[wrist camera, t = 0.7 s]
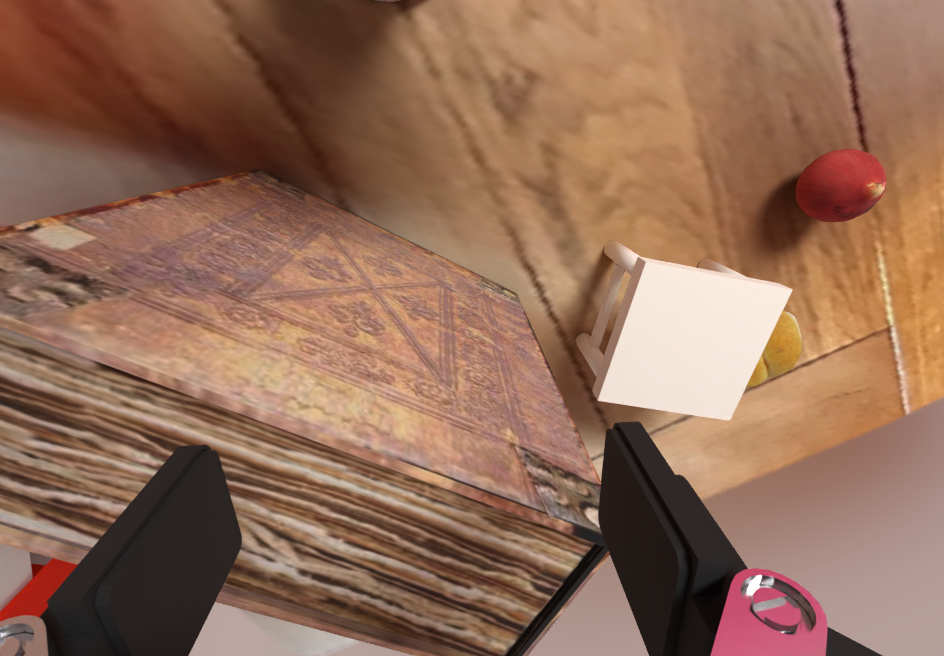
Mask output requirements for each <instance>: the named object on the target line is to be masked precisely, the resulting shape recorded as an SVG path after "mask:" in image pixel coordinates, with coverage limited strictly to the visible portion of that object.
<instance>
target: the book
mask: <svg viewBox="0 0 944 656" xmlns="http://www.w3.org/2000/svg"><path fill="white" fill-rule="evenodd" d="M187 445H208V446H209V447H210V448H211V450H215V451H217V453H218V455H219V458H220V461H221V465H222V468H223V472H224V475H225V478H226V482H227V485H228V489H229V492H230V496H231V499H232V503H233V506H234V510H235V513H236V517H237V520H238V524H239V527H240V530H241V534H242V545H241V549H240V552H239V554H238V556H237V558H236V560H235V562H234V564H233V566H232V568H231V570H230V572H229V574H228V576H227V578H226V580H225V582H224V584H223V586H222V588H221V590H220V592H219V594H218V596H217V599H216V601H215V602H218V603H222V604H226V605H229V606H233V607H237V608H240V609H244V610H248V611H251V612H255V613H259V614H263V615H266V616H270V617H274V618H277V619H281V620H285V621H289V622H292V623H296V624H300V625H303V626H307V627H311V628H314V629H318V630H322V631H326V632H329V633H333V634H337V635H340V636H344V637H348V638H352V639H355V640H359V641H363V642H367V643H370V644H374V645H378V646H381V647H385V648H389V649H392V650H396V651H400V652H403V653H408V654H411V655H415V656H528V655H529V653H530V652H531V651H532V650H533V649H534V647H535V646H536V645H537V644H538V642H539V641H540V640H541V639H542V637H543V636H544V635H545V634H546V633H547V631H548V630H549V629H550V628H551V626H552V625H553V624H554V623H555V622H556V620H557V619H558V618H559V617H560V615H561V614H562V613H563V612H564V610H565V609H566V608H567V607H568V606H569V604H570V603H571V602H572V600H573V599H574V598H575V597H576V596H577V595H578V593H579V592H580V591H581V589H582V588H583V587H584V586H585V585H586V583H587V582H588V581H589V580H590V578H591V577H592V576H593V575H594V573H595V572H596V571H597V570H598V568H599V567H600V566H601V565H602V564H603V562H604V561H605V560H606V559H607V558H608V556H609V555H610V553H609V550H608V548H607V545H606V542H605V540H604V537H603V535H602V532H601V529H600V526H599V520H598V509H599V499H600V489H601V481H600V479H599V477H598V475H597V472H596V470H595V468H594V466H593V463H592V461H591V459H590V457H589V454H588V452H587V450H586V448H585V445H584V443H583V441H582V439H581V436H580V434H579V432H578V430H577V427H576V425H575V423H574V421H573V419H572V416H571V414H570V412H569V410H568V407H567V405H566V403H565V401H564V398H563V396H562V394H561V392H560V389H559V387H558V385H557V383H556V380H555V378H554V376H553V374H552V371H551V369H550V367H549V365H548V362H547V360H546V358H545V356H544V354H543V351H542V349H541V347H540V345H539V342H538V340H537V338H536V336H535V333H534V331H533V329H532V327H531V324H530V322H529V320H528V318H527V315H526V313H525V311H524V309H523V306H522V304H521V302H520V300H519V298H518V295H517V294H516V293H515V292H513V291H511V290H509V289H507V288H505V287H503V286H501V285H498V284H496V283H494V282H492V281H490V280H488V279H486V278H484V277H482V276H480V275H478V274H476V273H474V272H472V271H470V270H468V269H466V268H463V267H461V266H459V265H457V264H455V263H453V262H451V261H449V260H447V259H445V258H443V257H441V256H439V255H437V254H435V253H433V252H430V251H428V250H426V249H424V248H422V247H420V246H418V245H416V244H414V243H412V242H410V241H408V240H406V239H404V238H402V237H400V236H398V235H395V234H393V233H391V232H389V231H387V230H385V229H383V228H381V227H379V226H377V225H375V224H373V223H371V222H369V221H367V220H365V219H363V218H360V217H358V216H356V215H354V214H352V213H350V212H348V211H346V210H344V209H342V208H340V207H338V206H336V205H334V204H332V203H330V202H328V201H325V200H323V199H321V198H319V197H317V196H315V195H313V194H311V193H309V192H307V191H305V190H303V189H301V188H299V187H297V186H295V185H293V184H290V183H288V182H286V181H284V180H282V179H280V178H278V177H276V176H274V175H272V174H270V173H268V172H266V171H264V170H260V169H256V170H251V171H247V172H243V173H238V174H234V175H230V176H225V177H221V178H217V179H212V180H208V181H204V182H199V183H195V184H191V185H186V186H182V187H178V188H173V189H169V190H165V191H160V192H156V193H151V194H147V195H143V196H138V197H134V198H130V199H125V200H121V201H117V202H112V203H108V204H104V205H99V206H95V207H91V208H86V209H82V210H78V211H73V212H69V213H65V214H60V215H56V216H52V217H47V218H43V219H39V220H34V221H30V222H25V223H21V224H17V225H12V226H8V227H4V228H0V544H3V545H7V546H11V547H14V548H18V549H22V550H25V551H29V552H33V553H36V554H40V555H44V556H48V557H51V558H55V559H59V560H62V561H66V562H70V563H74V564H77V565H78V564H79V563H80V562H81V561H82V559H83V558H84V557H85V556H86V555H87V553H88V552H89V551H90V550H91V549H92V548H93V546H94V545H95V544H96V543H97V542H98V541H99V539H100V538H101V537H102V536H103V535H104V533H105V532H106V531H107V530H108V529H109V528H110V526H111V525H112V524H113V523H114V522H115V521H116V519H117V518H118V517H119V516H120V515H121V514H122V512H123V511H124V510H125V509H126V508H127V506H128V505H129V504H130V503H131V502H132V501H133V499H134V498H135V497H136V496H137V495H138V494H139V492H140V491H141V490H142V489H143V488H144V486H145V485H146V484H147V483H148V482H149V481H150V479H151V478H152V477H153V476H154V475H155V474H156V472H157V471H158V470H159V469H160V468H161V466H162V465H163V464H164V463H165V462H166V461H167V459H168V458H169V457H170V456H171V455H172V454H173V452H174V451H175V450H176V449H177V448H178V447H180V446H187Z"/></svg>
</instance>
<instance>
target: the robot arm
mask: <svg viewBox="0 0 944 656" xmlns="http://www.w3.org/2000/svg"><path fill="white" fill-rule="evenodd" d="M374 1H384V2H395V1H402V0H374ZM598 520H599V526H600V529H601V532H602V535H603V537H604V540H605V542H606V545H607V548H608V550H609V553H610V555H611V558H612V561H613V563H614V566H615V568H616V571H617V573H618V576H619V578H620V581H621V584H622V586H623V589H624V592H625V594H626V597H627V599H628V602H629V604H630V607H631V610H632V612H633V615H634V617H635V620H636V622H637V625H638V628H639V630H640V633H641V635H642V638H643V641H644V643H645V646H646V648H647V651H648V654H649V656H882V655H880V654H878V653H876V652H874V651H872V650H871V649H869V648H867V647H865V646H863V645H861V644H859V643H857V642H855V641H853V640H852V639H850V638H848V637H846V636H844V635H842V634H840V633H838V632H836V631H834V630H833V629H831V628H829V627H828V626H827V619H826V615H825V613H824V611H823V609H822V607H821V605H820V604H819V602H818V601H817V600H816V599H815V598H814V597H813V596H812V594H811V593H810V592H809V591H807V590H806V589H805V588H803V587H802V586H801V585H800V584H798V583H797V582H796V581H794V580H792V579H790V578H788V577H786V576H784V575H783V574H780V573H777V572H774V571H771V570H767V569H759V568H752V569H748V568H747V566H746V565H745V564H744V562H743V561H742V559H741V558H740V556H739V555H738V554H737V552H736V551H735V549H734V548H733V546H732V545H731V543H730V542H729V540H728V539H727V537H726V536H725V535H724V533H723V532H722V530H721V529H720V527H719V526H718V524H717V523H716V522H715V520H714V519H713V517H712V516H711V514H710V513H709V511H708V510H707V508H706V507H705V506H704V504H703V503H702V501H701V500H700V498H699V497H698V495H697V494H696V492H695V491H694V490H693V488H692V487H691V485H690V484H689V482H688V481H687V480H686V479H685V478H684V477H683V476H681V475H675V474H674V472H673V471H672V469H671V468H670V466H669V465H668V463H667V462H666V460H665V459H664V457H663V456H662V454H661V453H660V451H659V450H658V448H657V447H656V445H655V444H654V442H653V441H652V439H651V438H650V436H649V435H648V433H647V432H646V430H645V429H644V427H643V426H642V424H641V423H640V422H621V423H615V424H614V426H613V429H608V430H607V431H606V438H605V448H604V458H603V468H602V479H601V489H600V499H599V509H598ZM241 545H242V534H241V530H240V527H239V524H238V520H237V517H236V513H235V510H234V506H233V503H232V499H231V496H230V492H229V489H228V485H227V482H226V478H225V475H224V472H223V468H222V465H221V461H220V458H219V455H218V453H217V451H215V450H211V448H210V447H209V446H208V445H187V446H180V447H178V448H177V449H176V450H175V451H174V452H173V454H172V455H171V456H170V457H169V458H168V459H167V461H166V462H165V463H164V464H163V465H162V466H161V468H160V469H159V470H158V471H157V472H156V474H155V475H154V476H153V477H152V478H151V479H150V481H149V482H148V483H147V484H146V485H145V486H144V488H143V489H142V490H141V491H140V492H139V494H138V495H137V496H136V497H135V498H134V499H133V501H132V502H131V503H130V504H129V505H128V506H127V508H126V509H125V510H124V511H123V512H122V514H121V515H120V516H119V517H118V518H117V519H116V521H115V522H114V523H113V524H112V525H111V526H110V528H109V529H108V530H107V531H106V532H105V533H104V535H103V536H102V537H101V538H100V539H99V541H98V542H97V543H96V544H95V545H94V546H93V548H92V549H91V550H90V551H89V552H88V553H87V555H86V556H85V557H84V558H83V559H82V561H81V562H80V563H79V564H78V565H77V566H76V568H75V569H74V570H73V571H72V572H71V573H70V575H69V576H68V577H67V578H66V579H65V581H64V582H63V583H62V584H61V585H60V586H59V588H58V589H57V590H56V591H55V592H54V593H53V595H52V596H51V597H50V598H49V599H48V601H47V603H48V605H49V606H48V607H47V608H46V610H45V611H44V612H43V613H42V614H41V616H40V617H39V618H38V617H36V616H30V615H22V616H17V617H13V618H9V619H6V620H3V621H1V622H0V656H188V655H189V653H190V651H191V649H192V647H193V645H194V643H195V641H196V639H197V637H198V635H199V633H200V631H201V629H202V627H203V624H204V622H205V621H206V619H207V617H208V615H209V613H210V611H211V609H212V606H213V605H214V602H215V601H216V599H217V596H218V594H219V592H220V590H221V588H222V586H223V584H224V582H225V580H226V578H227V576H228V574H229V572H230V570H231V568H232V566H233V564H234V562H235V560H236V558H237V556H238V554H239V552H240V549H241Z"/></svg>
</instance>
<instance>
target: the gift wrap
mask: <svg viewBox="0 0 944 656" xmlns="http://www.w3.org/2000/svg"><path fill="white" fill-rule="evenodd" d="M76 566H77V564H74V563H70V562H66V561H62V560H59V559H55V558H51V557H48V556H44V555H40V554H36V553H33V552H29V551H25V550H22V549H18V548H14V547H11V546H7V545H3V544H0V622H1V621H3V620H6V619H9V618H13V617H17V616H22V615H30V616H36V617H38V618H39V617H40V616H41V614H42V613H43V612H44V611H45V610H46V608H47V607H48V606H49V605H48V603H47V601H48V599H49V598H50V597H51V596H52V595H53V593H54V592H55V591H56V590H57V589H58V588H59V586H60V585H61V584H62V583H63V582H64V581H65V579H66V578H67V577H68V576H69V575H70V573H71V572H72V571H73V570H74V569H75V568H76Z"/></svg>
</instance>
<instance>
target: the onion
mask: <svg viewBox="0 0 944 656" xmlns="http://www.w3.org/2000/svg"><path fill="white" fill-rule="evenodd" d="M885 188H886V175H885V171H884V168H883V167H882V165H881V164H880V163H879V161H878V160H877V159H876V157H874V156H873V155H871V154H868V153H865V152H863V151H859V150H856V149H845V150H835V151H831V152H829V153H827V154H825V155H823V156H821V157H819V158H817V159H816V160H814V161H813V162H812V163H811V164H810V165H809V166H807V167H806V168H805V170H804V171H803V173H802V174H801V176H800V177H799V179H798V181H797V185H796V189H795V195H796V201H797V203H798V205H799V206H800V208H801V209H802V210H803V212H804V213H805V214H807V215H809V216H811V217H813V218H815V219H817V220H819V221H822V222H843V221H848V220H851V219H853V218H855V217H858V216H860V215H862V214H864V213H866V212H868V211H869V210H870V209H871V208H872V207H873V206H874V205H875V204H876V203H877V202H878V201H879V200H880V198H881V197H882V195H883V193H884V191H885Z"/></svg>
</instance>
